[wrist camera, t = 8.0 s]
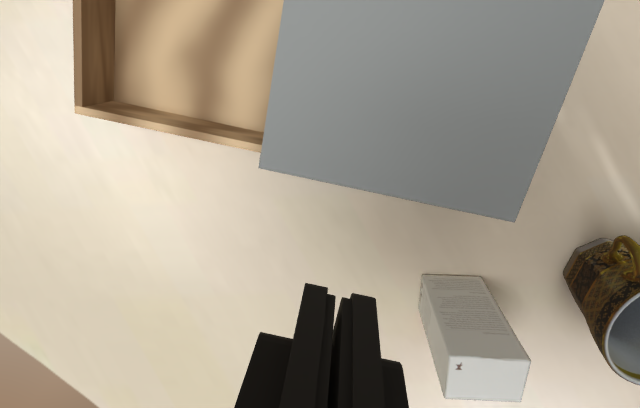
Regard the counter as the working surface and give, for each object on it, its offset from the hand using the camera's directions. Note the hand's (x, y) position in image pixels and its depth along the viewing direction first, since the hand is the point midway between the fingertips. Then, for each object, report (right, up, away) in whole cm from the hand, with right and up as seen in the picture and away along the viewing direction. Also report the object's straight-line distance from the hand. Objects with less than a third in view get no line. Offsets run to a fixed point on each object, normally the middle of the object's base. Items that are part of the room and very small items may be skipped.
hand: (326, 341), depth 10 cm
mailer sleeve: (+7, +14, +25) cm, 30 cm away
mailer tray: (-8, +17, +24) cm, 30 cm away
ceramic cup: (+26, -2, +30) cm, 40 cm away
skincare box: (+13, -6, +32) cm, 35 cm away
